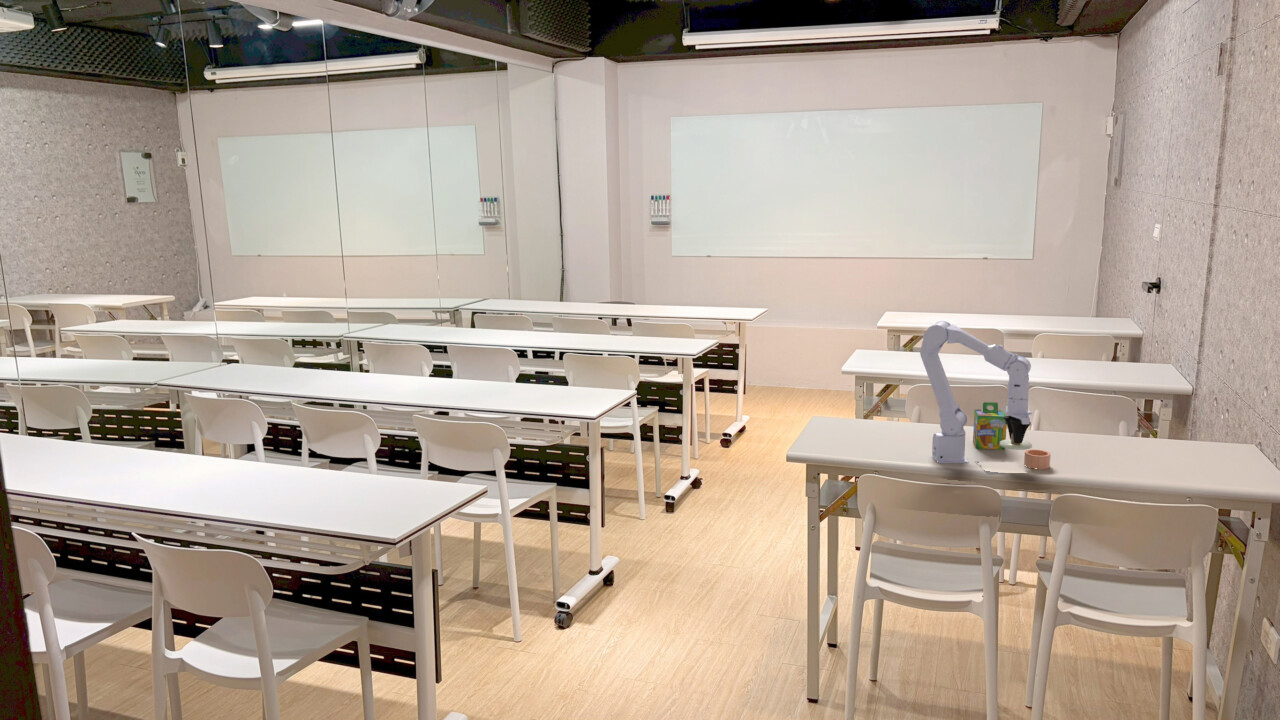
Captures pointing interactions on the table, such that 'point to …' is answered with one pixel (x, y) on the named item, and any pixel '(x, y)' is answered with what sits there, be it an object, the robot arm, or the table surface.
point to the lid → (1015, 444)
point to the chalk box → (989, 427)
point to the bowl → (1037, 459)
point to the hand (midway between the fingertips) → (1016, 441)
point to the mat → (991, 472)
